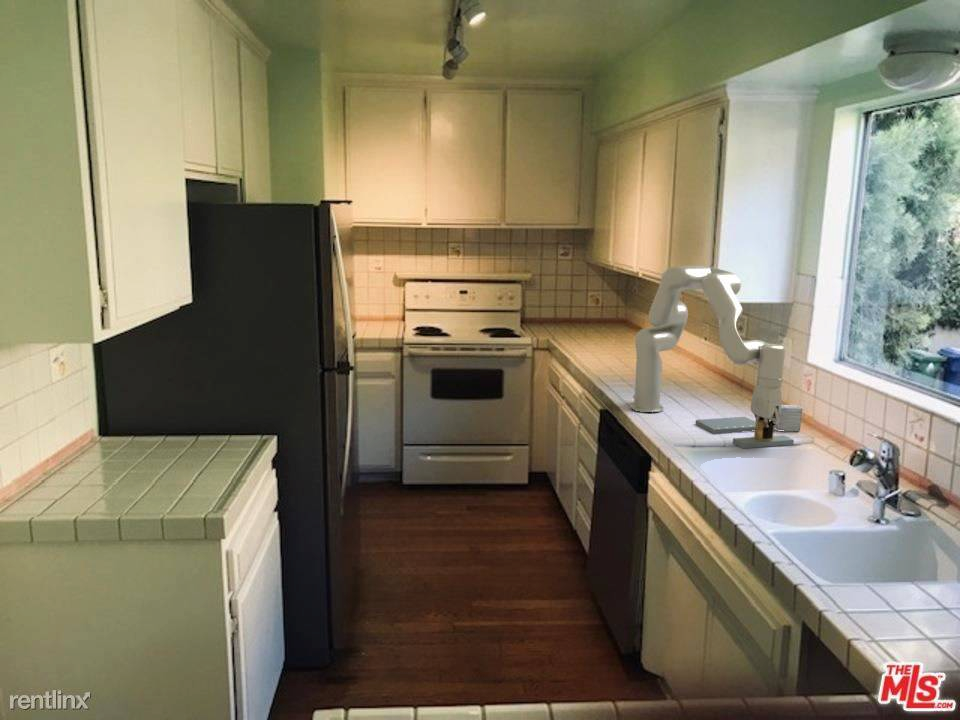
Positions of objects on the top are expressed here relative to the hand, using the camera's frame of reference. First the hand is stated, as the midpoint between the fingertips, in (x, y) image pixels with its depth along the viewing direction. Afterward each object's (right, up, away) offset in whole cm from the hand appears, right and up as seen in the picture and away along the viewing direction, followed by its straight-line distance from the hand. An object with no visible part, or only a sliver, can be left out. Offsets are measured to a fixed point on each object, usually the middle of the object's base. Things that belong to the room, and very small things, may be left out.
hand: (763, 436), depth 243 cm
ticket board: (-5, +1, +19) cm, 19 cm away
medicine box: (+14, 0, +17) cm, 22 cm away
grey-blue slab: (0, -3, +1) cm, 3 cm away
